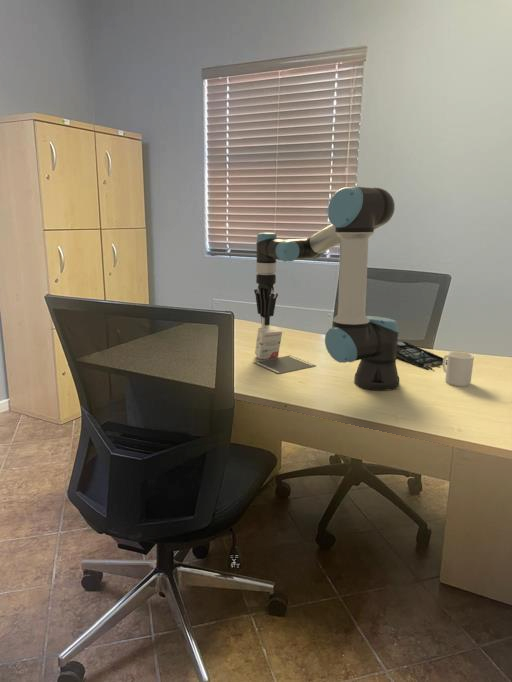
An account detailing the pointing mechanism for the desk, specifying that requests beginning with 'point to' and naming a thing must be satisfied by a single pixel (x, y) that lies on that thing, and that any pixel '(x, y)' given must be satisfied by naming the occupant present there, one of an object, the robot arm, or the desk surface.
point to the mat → (284, 364)
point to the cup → (458, 368)
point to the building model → (418, 356)
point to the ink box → (268, 342)
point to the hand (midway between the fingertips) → (265, 332)
